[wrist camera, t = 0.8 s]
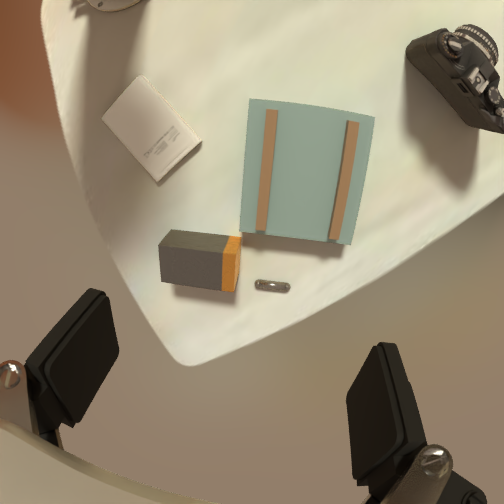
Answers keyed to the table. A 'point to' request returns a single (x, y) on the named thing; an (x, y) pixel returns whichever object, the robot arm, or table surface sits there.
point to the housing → (200, 260)
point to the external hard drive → (150, 128)
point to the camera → (463, 73)
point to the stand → (304, 170)
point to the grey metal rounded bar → (272, 285)
